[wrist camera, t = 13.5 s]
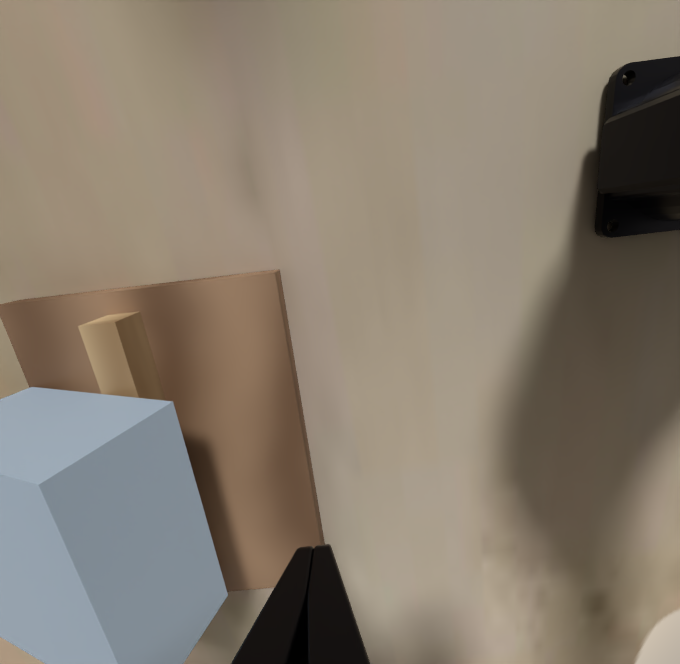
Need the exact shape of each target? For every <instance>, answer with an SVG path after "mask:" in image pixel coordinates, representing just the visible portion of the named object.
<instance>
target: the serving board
mask: <svg viewBox="0 0 680 664" xmlns="http://www.w3.org/2000/svg"><path fill="white" fill-rule="evenodd" d="M0 317H1V319H2V322H3V324H4V327H5V329H6V331H7V334H8V336H9V339H10V341H11V344H12V346H13V348H14V351H15V353H16V356H17V358H18V361H19V363H20V365H21V368H22V370H23V373H24V375H25V377H26V380H27V382H28V385H29V387H38V388H48V389H58V390H67V391H77V392H87V393H96V394H106V395H115V396H125V397H135V398H144V399H154V400H164V401H173V403H174V407H175V410H176V414H177V417H178V421H179V424H180V428H181V432H182V435H183V439H184V442H185V446H186V449H187V453H188V456H189V460H190V463H191V467H192V470H193V474H194V477H195V481H196V484H197V488H198V491H199V495H200V498H201V502H202V505H203V509H204V512H205V516H206V519H207V523H208V527H209V530H210V534H211V537H212V541H213V544H214V548H215V551H216V555H217V558H218V562H219V565H220V569H221V572H222V576H223V579H224V583H225V586H226V590H227V591H238V590H249V589H261V588H272V587H275V586H276V584H277V583H278V581H279V579H280V577H281V576H282V574H283V572H284V570H285V569H286V567H287V565H288V563H289V562H290V560H291V558H292V556H293V555H294V553H295V551H296V550H297V549H298V548H299V547H306V546H313V547H314V548H315V546H317V545H325V543H324V537H323V531H322V525H321V519H320V513H319V507H318V501H317V495H316V488H315V482H314V476H313V470H312V464H311V458H310V452H309V446H308V440H307V434H306V428H305V422H304V416H303V410H302V403H301V397H300V391H299V385H298V379H297V373H296V367H295V361H294V355H293V349H292V343H291V337H290V331H289V325H288V319H287V312H286V306H285V300H284V294H283V288H282V282H281V276H280V270H271V271H263V272H254V273H246V274H237V275H229V276H220V277H212V278H203V279H195V280H186V281H178V282H169V283H161V284H152V285H144V286H135V287H127V288H118V289H110V290H101V291H93V292H84V293H76V294H67V295H59V296H50V297H42V298H33V299H25V300H18V301H13V302H9V303H5V304H0Z"/></svg>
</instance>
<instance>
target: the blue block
mask: <svg viewBox="0 0 680 664" xmlns="http://www.w3.org/2000/svg"><path fill="white" fill-rule="evenodd" d="M227 596H228V593H227V590H226V586H225V583H224V579H223V576H222V572H221V569H220V565H219V562H218V558H217V555H216V551H215V548H214V544H213V541H212V537H211V534H210V530H209V527H208V523H207V519H206V516H205V512H204V509H203V505H202V502H201V498H200V495H199V491H198V488H197V484H196V481H195V477H194V474H193V470H192V467H191V463H190V460H189V456H188V453H187V449H186V446H185V442H184V439H183V435H182V432H181V428H180V424H179V421H178V417H177V414H176V410H175V407H174V403H173V401H164V400H154V399H144V398H135V397H125V396H115V395H106V394H96V393H87V392H77V391H67V390H58V389H48V388H38V387H30V388H28V389H25V390H23V391H20V392H18V393H15V394H12V395H10V396H7V397H5V398H2V399H0V637H2V638H3V639H5V640H7V641H8V642H10V643H12V644H13V645H15V646H17V647H18V648H20V649H22V650H23V651H25V652H27V653H28V654H30V655H32V656H33V657H35V658H37V659H38V660H40V661H42V662H43V663H45V664H183V663H184V662H185V660H186V659H187V657H188V656H189V654H190V653H191V651H192V650H193V648H194V646H195V645H196V643H197V642H198V640H199V639H200V637H201V636H202V634H203V633H204V631H205V630H206V628H207V627H208V625H209V624H210V622H211V621H212V619H213V618H214V616H215V614H216V613H217V611H218V610H219V608H220V607H221V605H222V604H223V602H224V601H225V599H226V598H227Z"/></svg>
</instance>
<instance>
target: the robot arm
mask: <svg viewBox="0 0 680 664" xmlns="http://www.w3.org/2000/svg"><path fill="white" fill-rule="evenodd" d="M623 75H625V76H626V77H627V84H626V85H624V84H623V81H622V78H623ZM597 189H598V197H597V208H596V219H595V232H596V234H597V235H598V236H600V237H609V238H613V237H621V236H630V235H638V234H647V233H655V232H664V231H672V230H680V56H678V57H670V58H663V59H655V60H648V61H640V62H632V63H628V64H626V65H624V66H622V67H620V68H619V69H617V70H616V71H615V72H613V73H612V75H611V77H610V79H609V82H608V90H607V101H606V112H605V122H604V125H603V131H602V141H601V152H600V163H599V174H598V185H597ZM610 221H611V222H612V227H611V229H610V230H609V231H608V230H607V225H608V223H609V222H610ZM231 664H370V662H369V659H368V656H367V653H366V650H365V647H364V644H363V641H362V638H361V635H360V632H359V629H358V626H357V623H356V620H355V617H354V614H353V611H352V608H351V605H350V602H349V599H348V596H347V593H346V590H345V587H344V584H343V581H342V578H341V575H340V572H339V569H338V566H337V563H336V560H335V557H334V554H333V551H332V548H331V546H330V545H329V544H326V545H317V546H315V548H314V547H313V546H306V547H299V548H298V549H297V550H296V551H295V553H294V555H293V556H292V558H291V560H290V562H289V563H288V565H287V567H286V569H285V570H284V572H283V574H282V576H281V577H280V579H279V581H278V583H277V584H276V586H275V588H274V590H273V591H272V593H271V595H270V597H269V598H268V600H267V602H266V604H265V605H264V607H263V609H262V611H261V612H260V614H259V616H258V618H257V619H256V621H255V623H254V625H253V626H252V628H251V630H250V632H249V633H248V635H247V637H246V638H245V640H244V642H243V644H242V645H241V647H240V649H239V651H238V652H237V654H236V656H235V658H234V659H233V661H232V663H231Z"/></svg>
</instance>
